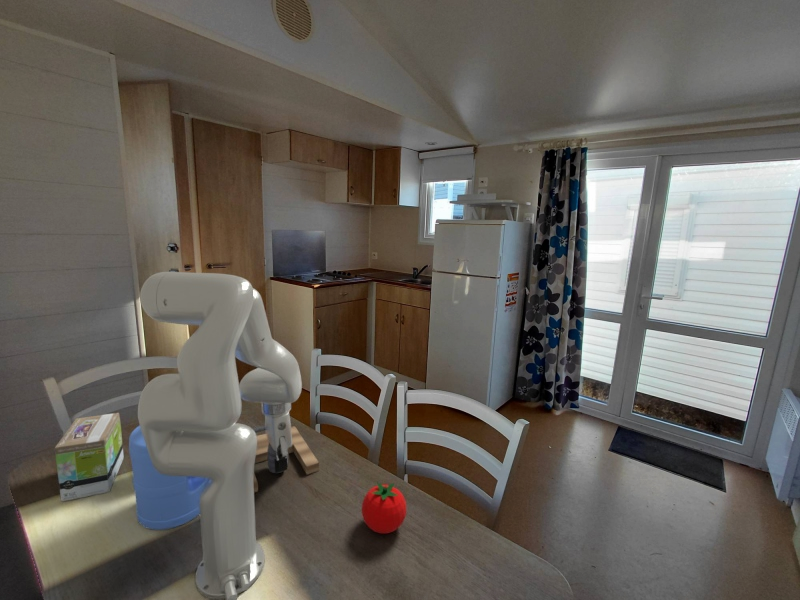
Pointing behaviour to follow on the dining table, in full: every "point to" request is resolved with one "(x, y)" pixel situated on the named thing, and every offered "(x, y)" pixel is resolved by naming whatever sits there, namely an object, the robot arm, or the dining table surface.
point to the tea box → (89, 456)
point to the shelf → (297, 447)
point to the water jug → (161, 490)
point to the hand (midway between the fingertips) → (278, 464)
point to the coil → (272, 458)
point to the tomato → (384, 508)
